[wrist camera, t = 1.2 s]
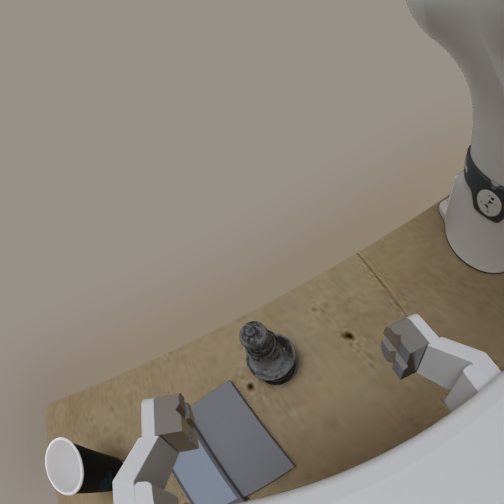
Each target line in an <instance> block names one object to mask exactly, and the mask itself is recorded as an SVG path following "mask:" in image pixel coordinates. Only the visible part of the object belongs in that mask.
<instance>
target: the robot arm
mask: <svg viewBox="0 0 504 504" xmlns="http://www.w3.org/2000/svg"><path fill="white" fill-rule="evenodd" d="M406 2H407V5H408V8H409V10H410V12H411V14H412V16H413V18H414V19H415V20H416V22H417V23H418V25H419V26H420V27H421V28H422V29H423V30H424V31H425V33H427V34H428V35H429V36H430V37H431V38H432V39H434V40H435V41H436V42H438V43H439V44H440V45H441V46H442V47H444V49H445V50H446V51H447V52H448V53H449V54H450V55H451V56H452V57H453V59H454V60H455V61H456V63H457V64H458V66H459V67H460V68H461V71H462V72H463V74H464V76H465V78H466V80H467V83H468V86H469V88H470V93H471V97H472V105H473V130H472V141H471V145H470V146H469V148H468V151H467V155H466V158H465V167H464V170H463V171H461V172H460V173H459V174H457V175H455V177H454V180H453V185H452V188H451V192H450V196H449V197H448V198H447V199H445V200H444V201H442V202H441V203H440V206H439V212H440V214H441V216H442V218H443V219H444V222H445V231H446V236H447V239H448V241H449V244H450V245H451V247H452V249H453V250H454V251H455V253H456V254H457V255H458V256H459V257H460V258H461V259H462V260H463V261H464V262H466V263H467V264H469V265H470V266H472V267H474V268H476V269H478V270H480V271H484V272H488V273H500V272H504V0H406ZM384 335H385V337H384V339H383V340H382V343H381V349H382V353H383V355H384V357H385V358H386V360H387V361H389V362H391V363H393V368H392V369H393V370H394V371H395V373H396V374H397V376H398V377H399V379H400V380H401V379H403V378H405V377H407V376H409V375H411V374H413V373H415V372H416V373H418V374H420V375H422V376H424V377H426V378H427V379H429V380H431V381H433V382H435V383H437V384H439V385H441V386H443V387H444V388H446V389H448V390H450V392H449V393H448V395H447V396H446V398H445V401H444V402H445V403H446V405H447V406H448V408H449V409H450V411H451V413H450V414H448V415H447V416H445V417H444V418H442V419H441V420H439V421H438V422H436V423H435V424H433V425H432V426H430V427H429V428H427V429H425V430H424V431H422V432H421V433H419V434H417V435H416V436H414V437H412V438H410V439H409V440H407V441H405V442H403V443H402V444H400V445H398V446H396V447H394V448H392V449H390V450H389V451H387V452H385V453H383V454H381V455H379V456H377V457H375V458H372V459H370V460H368V461H366V462H364V463H362V464H360V465H357V466H355V467H353V468H350V469H348V470H346V471H343V472H341V473H338V474H336V475H333V476H331V477H328V478H325V479H323V480H320V481H317V482H314V483H311V484H308V485H305V486H302V487H299V488H296V489H293V490H289V491H286V492H282V493H279V494H275V495H271V496H267V497H263V498H259V499H255V500H250V501H245V502H240V503H235V504H504V370H503V371H502V372H501V371H500V369H499V368H498V367H497V366H496V365H495V363H494V362H493V361H492V360H491V359H490V357H489V356H488V355H487V354H486V353H485V352H483V351H480V350H477V349H474V348H472V347H469V346H466V345H463V344H460V343H458V342H455V341H452V340H449V339H447V338H444V337H441V338H439V337H438V336H437V335H436V334H435V332H434V331H433V330H432V329H431V328H430V327H429V326H428V325H427V324H426V322H425V321H424V320H423V319H422V318H421V317H420V316H419V315H418V314H413V315H411V316H409V317H407V318H404V319H402V320H400V321H398V322H396V323H394V324H392V325H389V326H387V327H386V328H385V329H384ZM141 422H142V437H141V438H138V440H137V441H136V443H135V445H134V446H133V448H132V450H131V451H130V453H129V455H128V456H127V458H126V460H125V461H124V463H123V465H122V466H121V468H120V470H119V471H118V473H117V475H116V476H115V478H114V480H113V481H112V484H113V503H114V504H179V502H178V497H177V496H175V495H174V494H171V493H169V492H167V491H165V490H164V489H165V486H166V484H167V481H168V479H169V477H170V474H171V472H172V470H173V467H174V465H175V463H176V460H177V458H178V455H179V453H178V452H184V451H190V450H195V449H199V444H198V438H197V434H196V432H195V431H194V430H193V428H194V426H195V419H194V415H193V412H192V409H191V407H190V405H189V404H188V403H186V402H184V397H183V396H182V394H181V393H179V394H174V395H169V396H163V397H157V398H151V399H145V400H142V404H141Z"/></svg>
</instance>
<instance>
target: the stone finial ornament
mask: <svg viewBox="0 0 504 504" xmlns="http://www.w3.org/2000/svg"><path fill="white" fill-rule="evenodd" d="M239 338H240V341H241V344H242V345H243V346H244V347H245V350H246V353H247V358H246V362H247V366H248V368H249V370H250V372H251V373H252V374H253V375H254V376H255V377H257V378H259V379H262V380H264V381H265V382H267V383H269V384H273V385H280V384H283V383H286V382H288V381H289V380H290V379H291V378H293V377H294V375H295V373H296V372H297V368H298V359H297V356H296V352H295V348H294V346H293V344H292V342H291V341H290V340H289V339H288V338H286V337H285V336H282V335H280V334H274V333H273V332H271V331H269V330H267V329H266V327H265V326H264V325H263V324H262V323H260V322H256V321H252V322H249V323H247V324H245V325H244V326H243V327H242V329H241V331H240V335H239Z"/></svg>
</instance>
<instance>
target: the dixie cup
mask: <svg viewBox="0 0 504 504" xmlns="http://www.w3.org/2000/svg"><path fill="white" fill-rule="evenodd" d="M123 463H124V462H123V461H120V460H119V459H117V458H115V457H111V456H108V455H105V454H102V453H99V452H96V451H93V450H90V449H87V448H85V447H82V446H79V445H77V444H74V443H72V442H71V441H70V440H68V439H66V438H63V437H59V438H56V439H54V440H53V441H52V442H51V443H50V444H49V446H48V448H47V451H46V456H45V466H46V472H47V475H48V477H49V480H50V482H51V483H52V485H53V486H54V488H55V489H56V490H57V491H59V492H60V493H62V494H64V495H74V494H76V493H95V492H108V491H113V484H112V481H113V480H114V478H115V476H116V475H117V473H118V471H119V470H120V468H121V466H122V465H123Z"/></svg>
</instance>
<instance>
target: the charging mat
mask: <svg viewBox="0 0 504 504" xmlns="http://www.w3.org/2000/svg"><path fill="white" fill-rule="evenodd" d="M190 407H191V409H192V412H193V415H194V419H195V424H196V426H197V428H198V429H199V431H200V433H201V434H202V436H203V437H204V439H205V441H206V442H207V444H208V445H209V447H210V449H211V450H212V452H213V453H214V455H215V456H216V458H217V459H218V461H219V462H220V464H221V465H222V467H223V468H224V470H225V471H226V473H227V474H228V476H229V477H230V478H231V480H232V481H233V483H234V484H235V485H236V487H237V488H238V490H239V491H240V492H241V494H242V495H243V496H244V498H245V497H246V496H248V495H250V494H252V493H254V492H255V491H257V490H259V489H261V488H262V487H264V486H266V485H267V484H269V483H271V482H272V481H274V480H276V479H277V478H279V477H280V476H282V475H284V474H285V473H287V472H288V471H290V470H291V469H293V468H294V467H296V466H295V465H294V463H293V462H292V461H291V460H290V458H289V457H288V456H287V455H286V454H285V452H284V451H283V450H282V449H281V447H280V446H279V445H278V444H277V442H276V441H275V440H274V438H273V437H272V436H271V435H270V433H269V432H268V431H267V429H266V428H265V427H264V426H263V424H262V423H261V422H260V420H259V419H258V418H257V416H256V415H255V414H254V412H253V411H252V409H251V408H250V407H249V405H248V404H247V403H246V401H245V400H244V398H243V397H242V396H241V394H240V393H239V391H238V390H237V389H236V387H235V386H234V384H233V383H232V382H231V381H230V380H228V381H227V382H225V383H224V384H222V385H221V386H220V387H218V388H217V389H215V390H214V391H212V392H211V393H210V394H208V395H207V396H205V397H204V398H202V399H201V400H199V401H198V402H196V403H195V404H193V405H192V406H190Z"/></svg>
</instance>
